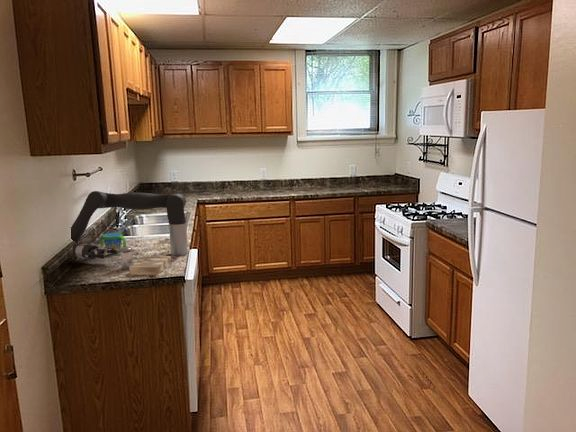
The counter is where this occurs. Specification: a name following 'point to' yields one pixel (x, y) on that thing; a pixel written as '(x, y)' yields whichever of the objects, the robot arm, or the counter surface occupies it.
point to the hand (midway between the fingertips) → (110, 254)
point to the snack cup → (113, 241)
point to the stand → (150, 265)
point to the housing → (126, 257)
